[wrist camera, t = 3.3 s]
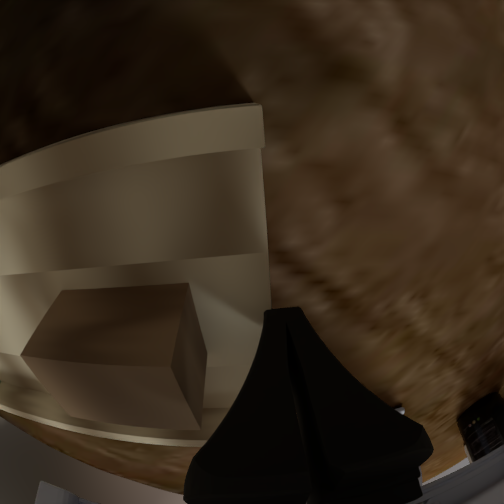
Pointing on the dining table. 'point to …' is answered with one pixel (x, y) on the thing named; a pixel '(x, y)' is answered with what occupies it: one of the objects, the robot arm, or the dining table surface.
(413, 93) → the dining table surface
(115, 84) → the dining table surface
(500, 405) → the supplement bottle
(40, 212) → the trap box
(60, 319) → the walnut block
